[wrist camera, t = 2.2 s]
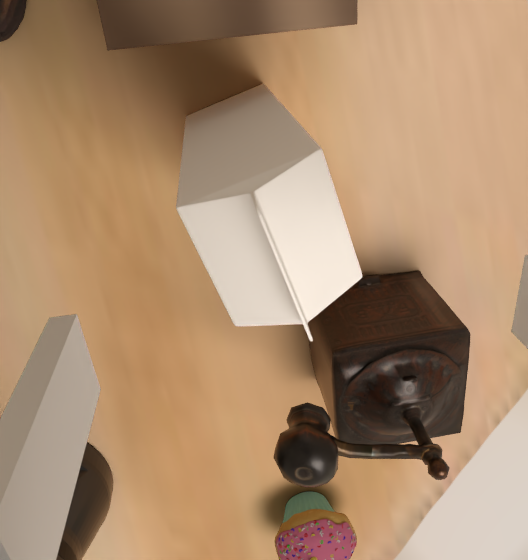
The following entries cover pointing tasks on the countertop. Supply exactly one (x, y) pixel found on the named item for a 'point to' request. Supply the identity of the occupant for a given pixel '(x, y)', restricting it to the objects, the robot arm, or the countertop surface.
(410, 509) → the countertop surface
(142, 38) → the riser
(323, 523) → the cupcake
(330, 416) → the coffee grinder
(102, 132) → the countertop surface
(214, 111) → the milk
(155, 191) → the countertop surface
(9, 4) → the mortar and pestle
